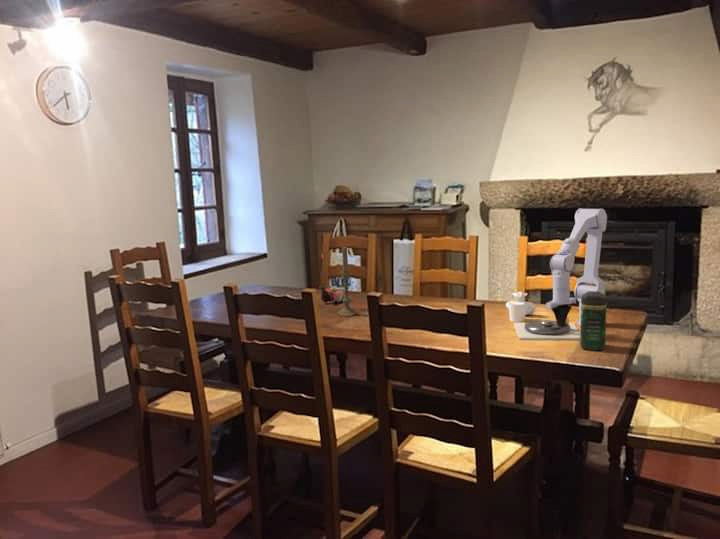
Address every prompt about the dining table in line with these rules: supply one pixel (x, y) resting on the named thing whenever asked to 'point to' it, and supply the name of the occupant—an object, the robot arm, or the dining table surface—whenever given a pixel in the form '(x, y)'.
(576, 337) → the wheel base
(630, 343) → the dining table surface
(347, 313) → the candlestick holder
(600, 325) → the coffee jar
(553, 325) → the handwheel
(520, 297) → the bust
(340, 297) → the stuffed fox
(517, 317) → the white cylinder
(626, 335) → the dining table surface
